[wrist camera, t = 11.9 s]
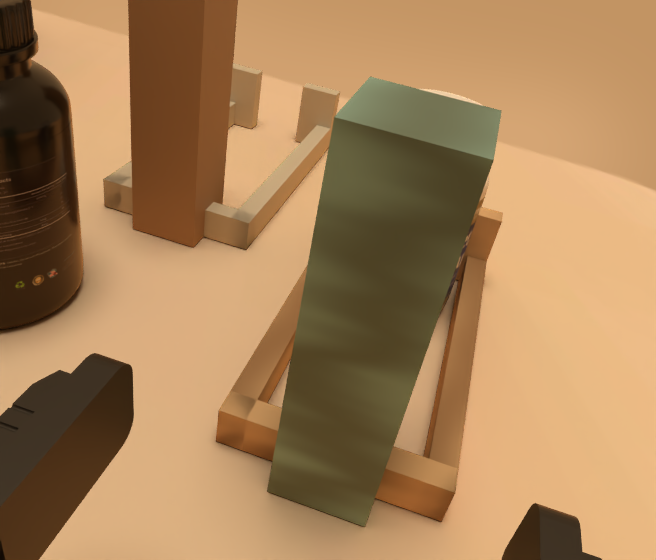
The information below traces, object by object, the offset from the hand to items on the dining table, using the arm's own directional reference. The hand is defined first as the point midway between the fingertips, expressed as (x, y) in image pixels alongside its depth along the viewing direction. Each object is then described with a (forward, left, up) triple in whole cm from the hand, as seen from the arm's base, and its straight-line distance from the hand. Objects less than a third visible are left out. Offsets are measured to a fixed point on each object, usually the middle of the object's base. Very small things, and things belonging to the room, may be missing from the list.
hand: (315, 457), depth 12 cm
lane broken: (-12, +26, -8) cm, 29 cm away
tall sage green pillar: (0, +14, -8) cm, 16 cm away
